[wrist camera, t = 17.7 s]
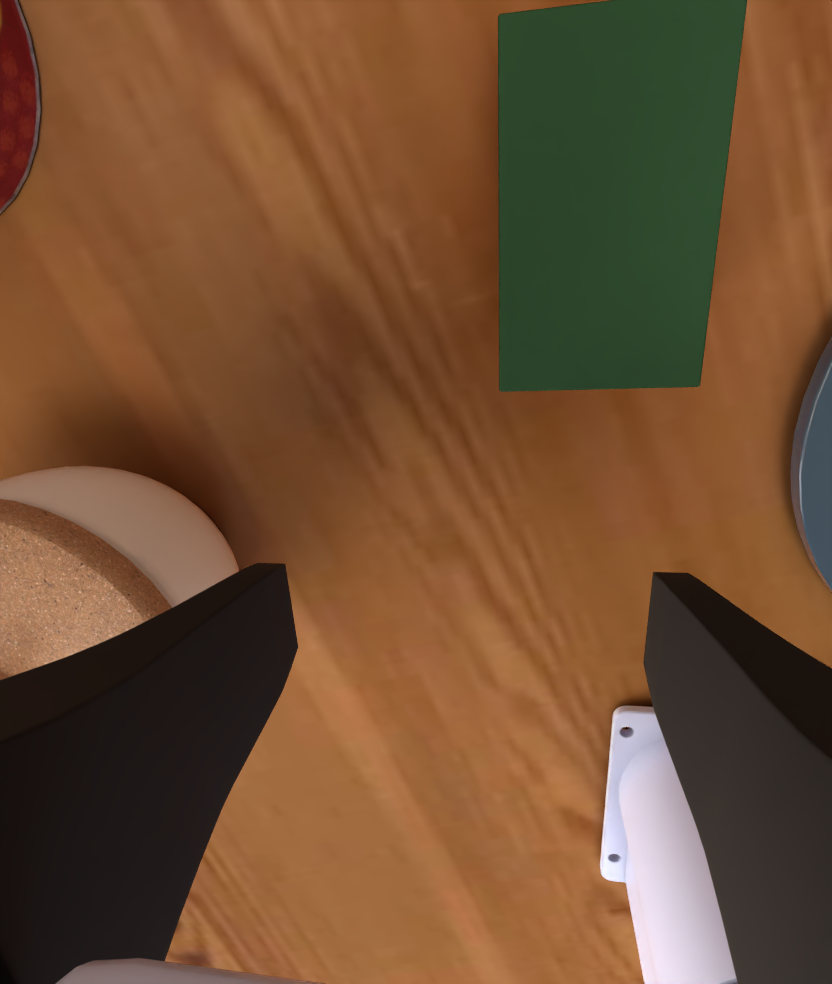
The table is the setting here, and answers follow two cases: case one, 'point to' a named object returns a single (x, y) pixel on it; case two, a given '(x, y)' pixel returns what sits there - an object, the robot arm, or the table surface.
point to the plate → (815, 468)
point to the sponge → (611, 189)
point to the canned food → (16, 101)
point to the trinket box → (95, 559)
